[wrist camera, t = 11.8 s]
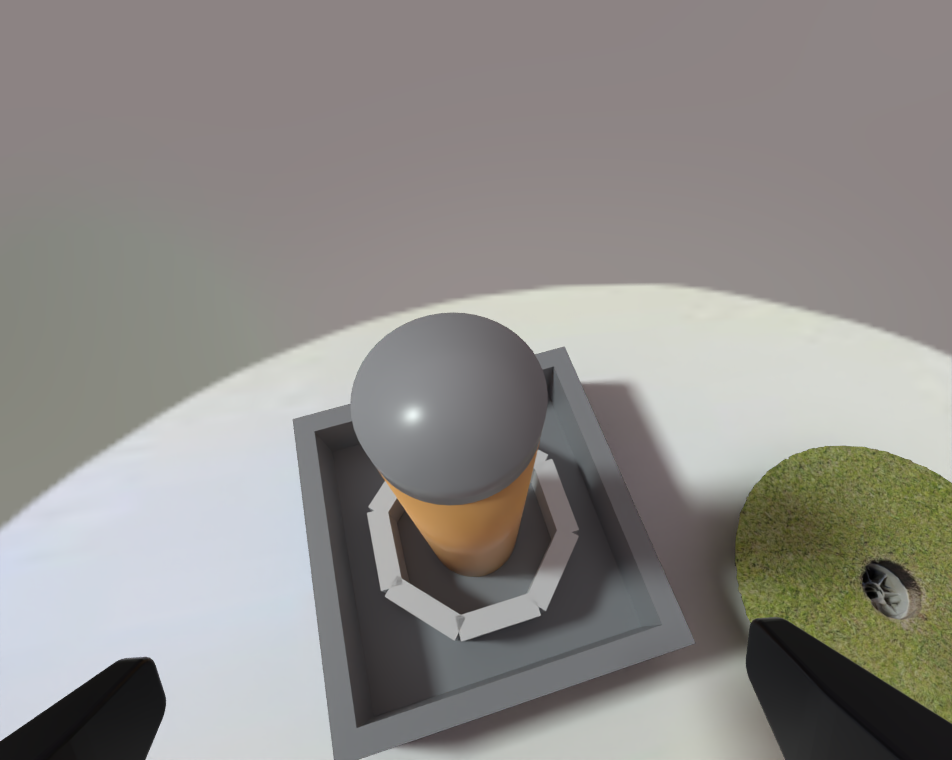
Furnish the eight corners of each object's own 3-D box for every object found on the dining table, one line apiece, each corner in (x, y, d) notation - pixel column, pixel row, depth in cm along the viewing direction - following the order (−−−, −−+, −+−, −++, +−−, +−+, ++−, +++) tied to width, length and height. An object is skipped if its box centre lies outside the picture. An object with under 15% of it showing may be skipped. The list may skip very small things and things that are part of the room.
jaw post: (525, 500, 21) (564, 334, 9) (505, 588, 19) (521, 516, 8) (445, 478, 22) (390, 296, 10) (419, 562, 20) (318, 460, 8)
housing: (662, 642, 19) (695, 643, 16) (362, 745, 18) (335, 767, 15) (555, 382, 25) (564, 346, 22) (319, 448, 23) (292, 419, 20)
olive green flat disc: (867, 838, 16) (912, 862, 15) (660, 531, 21) (675, 522, 19) (1087, 662, 19) (1148, 664, 17) (853, 419, 23) (882, 402, 22)
